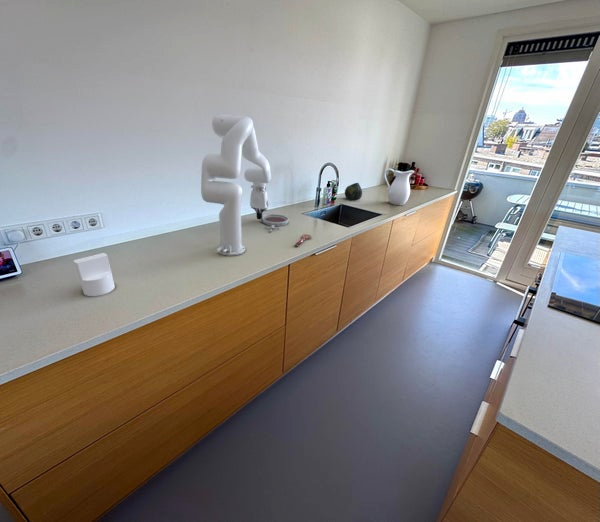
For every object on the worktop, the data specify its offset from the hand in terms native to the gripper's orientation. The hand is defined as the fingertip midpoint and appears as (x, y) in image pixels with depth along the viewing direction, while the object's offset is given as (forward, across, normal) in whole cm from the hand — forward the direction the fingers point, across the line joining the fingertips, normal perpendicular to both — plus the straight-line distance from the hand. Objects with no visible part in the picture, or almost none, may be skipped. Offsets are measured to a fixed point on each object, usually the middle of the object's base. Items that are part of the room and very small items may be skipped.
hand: (259, 218), depth 175 cm
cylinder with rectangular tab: (+1, -11, -94) cm, 95 cm away
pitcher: (+3, +71, +107) cm, 128 cm away
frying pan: (+2, +10, 0) cm, 10 cm away
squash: (+3, +38, +97) cm, 104 cm away
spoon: (+2, +35, -17) cm, 39 cm away
